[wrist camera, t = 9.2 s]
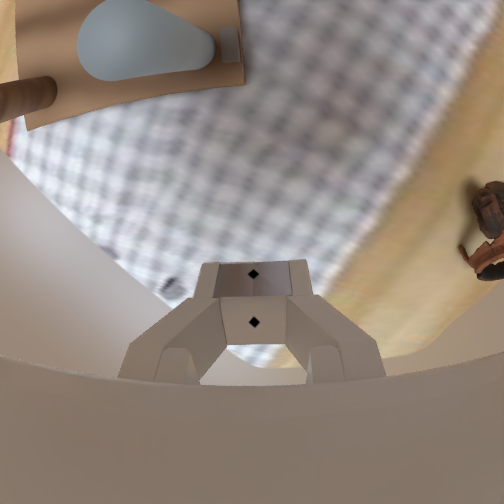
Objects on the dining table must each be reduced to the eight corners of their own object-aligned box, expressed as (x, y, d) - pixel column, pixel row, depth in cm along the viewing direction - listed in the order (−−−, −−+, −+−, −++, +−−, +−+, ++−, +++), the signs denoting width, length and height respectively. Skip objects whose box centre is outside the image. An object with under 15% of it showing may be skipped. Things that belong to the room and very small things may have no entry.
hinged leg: (169, 33, 17) (73, 12, 7) (213, 26, 16) (157, -16, 6) (173, 73, 18) (82, 90, 8) (217, 66, 18) (165, 70, 8)
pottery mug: (524, 203, 27) (544, 265, 23) (465, 232, 34) (478, 292, 30) (499, 147, 21) (532, 221, 17) (425, 188, 28) (442, 261, 24)
